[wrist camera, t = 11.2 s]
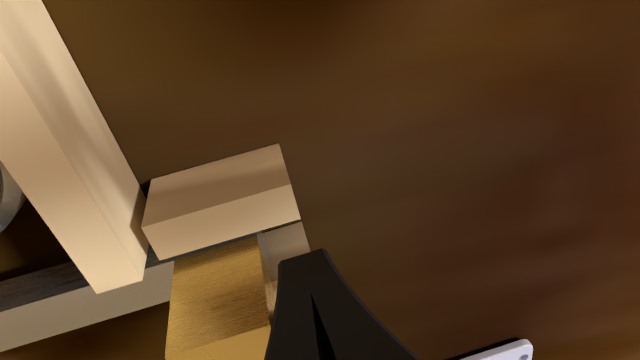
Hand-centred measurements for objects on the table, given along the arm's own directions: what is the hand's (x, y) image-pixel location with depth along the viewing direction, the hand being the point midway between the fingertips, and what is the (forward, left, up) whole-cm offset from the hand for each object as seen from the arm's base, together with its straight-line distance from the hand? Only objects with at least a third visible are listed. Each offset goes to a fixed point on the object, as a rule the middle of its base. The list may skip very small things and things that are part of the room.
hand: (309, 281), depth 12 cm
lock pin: (0, +7, -3) cm, 7 cm away
